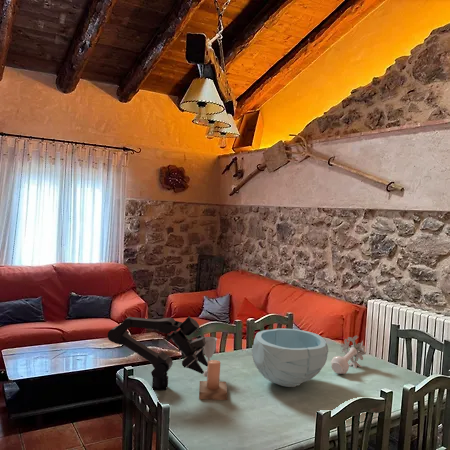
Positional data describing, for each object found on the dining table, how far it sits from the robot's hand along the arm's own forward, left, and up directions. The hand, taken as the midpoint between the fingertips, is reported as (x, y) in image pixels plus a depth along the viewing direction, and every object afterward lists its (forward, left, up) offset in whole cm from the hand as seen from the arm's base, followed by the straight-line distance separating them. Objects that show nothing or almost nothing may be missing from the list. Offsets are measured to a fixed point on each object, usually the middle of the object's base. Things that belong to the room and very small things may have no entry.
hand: (205, 369), depth 192 cm
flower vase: (+76, +33, -11) cm, 83 cm away
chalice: (+2, +20, -11) cm, 23 cm away
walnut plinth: (+4, -1, -10) cm, 11 cm away
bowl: (+40, +12, -11) cm, 43 cm away
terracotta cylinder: (+4, -1, -7) cm, 8 cm away
